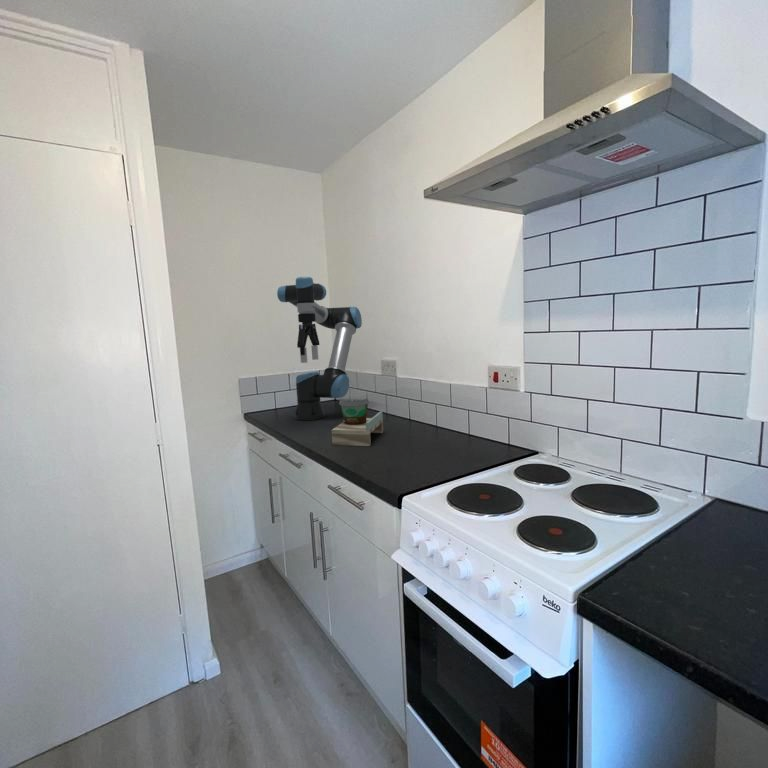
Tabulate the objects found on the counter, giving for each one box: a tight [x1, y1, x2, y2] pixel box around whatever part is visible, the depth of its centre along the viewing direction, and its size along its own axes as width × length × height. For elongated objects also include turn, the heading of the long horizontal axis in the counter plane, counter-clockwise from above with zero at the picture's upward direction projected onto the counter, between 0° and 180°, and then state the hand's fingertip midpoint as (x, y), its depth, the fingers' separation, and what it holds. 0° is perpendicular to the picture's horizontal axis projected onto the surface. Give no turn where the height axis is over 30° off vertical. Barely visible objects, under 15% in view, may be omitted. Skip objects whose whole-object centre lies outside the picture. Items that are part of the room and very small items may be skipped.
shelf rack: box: [331, 410, 384, 447], centre depth 171 cm, size 22×15×9 cm
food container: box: [338, 397, 370, 425], centre depth 170 cm, size 12×6×10 cm, turn 91°
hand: (310, 361), depth 188 cm, fingers open, 13 cm apart
